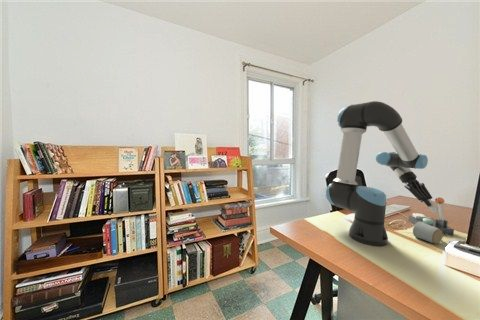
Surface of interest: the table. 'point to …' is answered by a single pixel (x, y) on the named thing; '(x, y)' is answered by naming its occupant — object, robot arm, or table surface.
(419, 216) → the rocker
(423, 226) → the grey cylinder
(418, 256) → the table surface
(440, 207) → the toggle lever
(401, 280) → the table surface
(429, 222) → the push button
